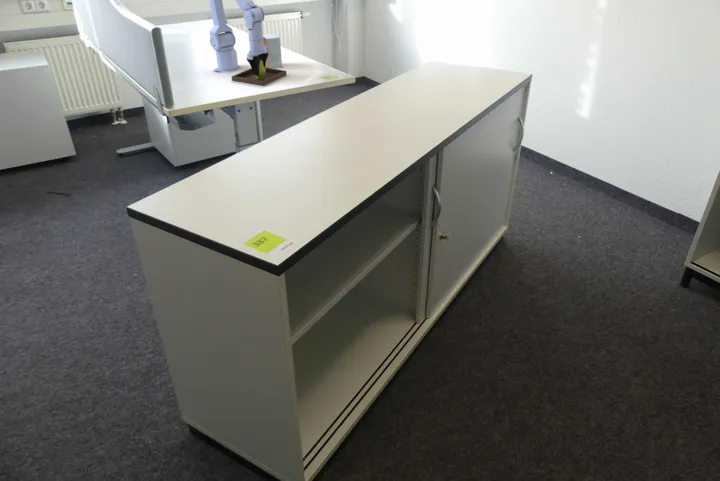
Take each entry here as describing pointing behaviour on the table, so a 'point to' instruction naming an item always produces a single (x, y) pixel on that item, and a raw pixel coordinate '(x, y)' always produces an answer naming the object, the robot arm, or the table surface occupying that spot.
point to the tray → (251, 79)
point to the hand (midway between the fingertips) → (259, 72)
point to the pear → (261, 70)
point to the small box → (273, 50)
